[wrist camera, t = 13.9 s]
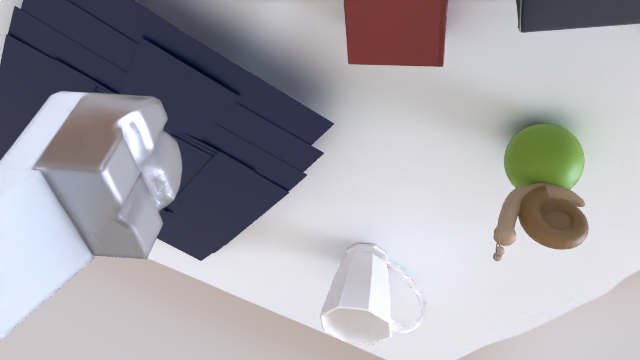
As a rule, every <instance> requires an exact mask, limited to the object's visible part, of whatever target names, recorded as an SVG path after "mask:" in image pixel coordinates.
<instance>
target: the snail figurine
mask: <svg viewBox="0 0 640 360" xmlns="http://www.w3.org/2000/svg"><path fill="white" fill-rule="evenodd" d="M504 167H505V171H506V174H507V176H508V178H509V180H510V182H511V183H512V184H513V185H514V187H515V188H516V189H514V190H513V191H512V192H511V193H510V194H509V195H508V196H507V198H506V199H505V201H504V203H503V206H502V209H501V212H500V215H499V219H498V225H497V227H496V228H495V230H494V240H495V241H496V242H497V244H496V253H494V255H493V258H494V260H495V261H499V260H501V258H502V256H501V255H502V254H503V253H504V251H505V250H504V248H503V247H501V246H500V245H502V246H508V245H511V244H512V243H514V241H515V240H516V232H515V230H514V227H515V223H516V220H517V216H519V221H520V223H521V226H522V227H523V229H524V230H525V232H526V233H527V234H528V235H529V236H530V237H531V238H532V239H533V240H535V241H536V242H538V243H540V244H541V245H544V246H546V247H549V248H553V249H571V248H574V247H576V246H578V245H580V244H581V243H582V242H583V241H584V240H585V239H586V237H587V234H588V222H587V219H586V217H585V215H584V214H583V213H582V211H581V210H580V209H578V208H577V207H576V206H578V207H583V206H585V202H584V201H583V200H582V199H581V198H580V197H579V196H578V195H577V194H576V193H574V192H573V191H571V190H570V189H571V188H572V187H573V186H574V185H575V184H576V183H577V182H578V180H579V178H580V176H581V174H582V172H583V168H584V153H583V150H582V147H581V145H580V143H579V141H578V140H577V139H576V137H575V136H574V135H573V134H572V133H571V132H569V131H568V130H566V129H565V128H563V127H560V126H557V125H554V124H535V125H532V126H529V127H527V128H525V129H523V130H521V131H520V132H518V133H517V134H516V135H515V136H514V137H513V138H512V140H511V141H510V143H509V144H508V146H507V149H506V152H505V156H504ZM498 244H499V247H497V246H498Z"/></svg>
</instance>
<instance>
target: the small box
mask: <svg viewBox="0 0 640 360" xmlns="http://www.w3.org/2000/svg"><path fill="white" fill-rule="evenodd" d="M516 3H517V11H518V28H519V31H520V32H523V33H524V32H535V31H548V30H563V29H575V28H588V27H601V26H615V25H628V24H640V0H516Z"/></svg>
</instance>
